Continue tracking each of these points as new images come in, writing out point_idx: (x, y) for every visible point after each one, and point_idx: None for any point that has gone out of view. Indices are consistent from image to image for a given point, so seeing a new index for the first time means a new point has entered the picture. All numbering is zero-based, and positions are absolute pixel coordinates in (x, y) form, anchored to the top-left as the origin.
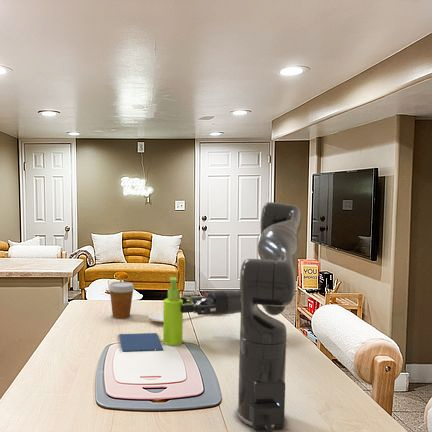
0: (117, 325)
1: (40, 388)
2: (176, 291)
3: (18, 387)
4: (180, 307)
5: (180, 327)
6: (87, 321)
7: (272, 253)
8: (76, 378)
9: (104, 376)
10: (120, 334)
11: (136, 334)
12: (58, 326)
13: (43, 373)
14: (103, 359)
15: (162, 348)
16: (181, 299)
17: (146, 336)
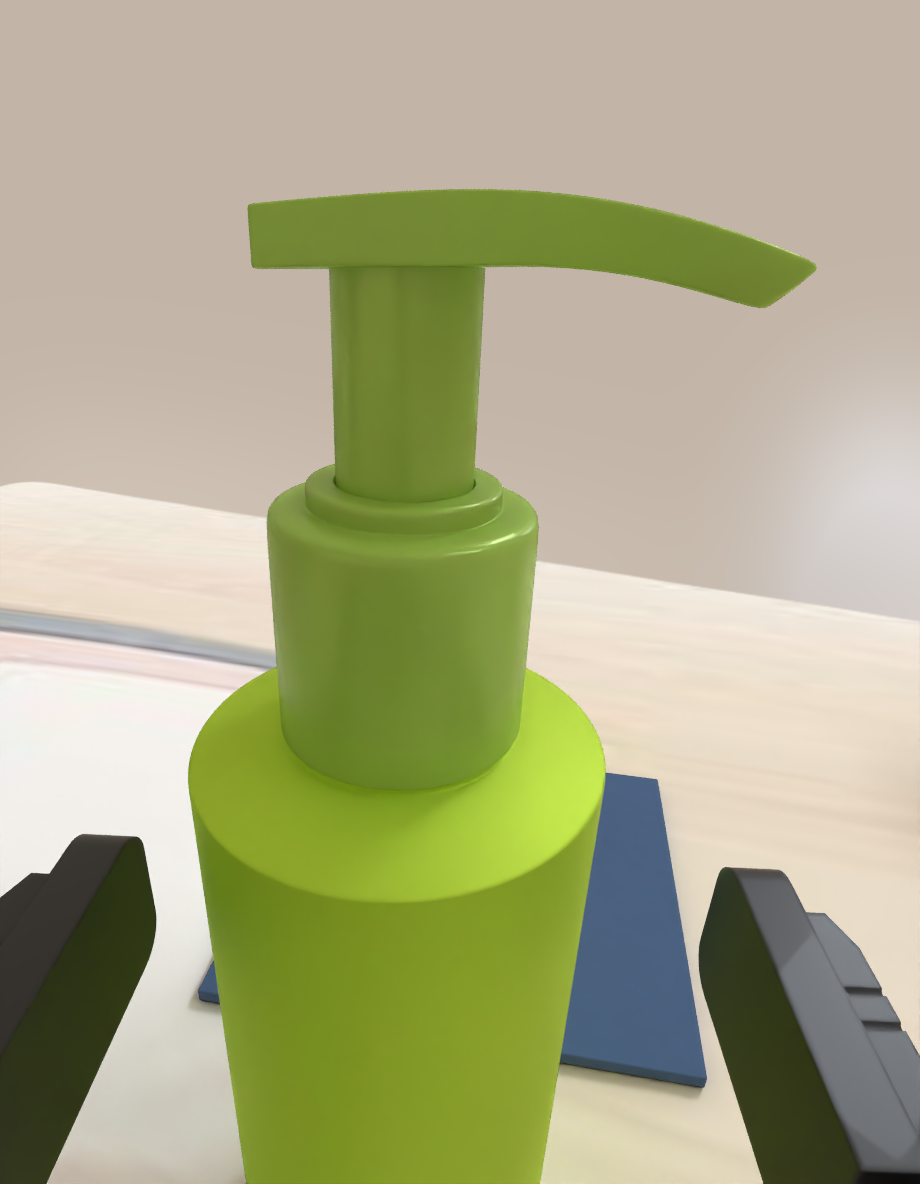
0: (916, 821)
1: (137, 532)
2: (268, 540)
3: (185, 510)
4: (204, 893)
5: (247, 1166)
6: None
7: None
8: (134, 585)
9: (70, 639)
10: (651, 783)
11: (650, 878)
12: (793, 604)
13: (247, 542)
14: (266, 664)
15: (213, 986)
16: (815, 1113)
17: (589, 942)
